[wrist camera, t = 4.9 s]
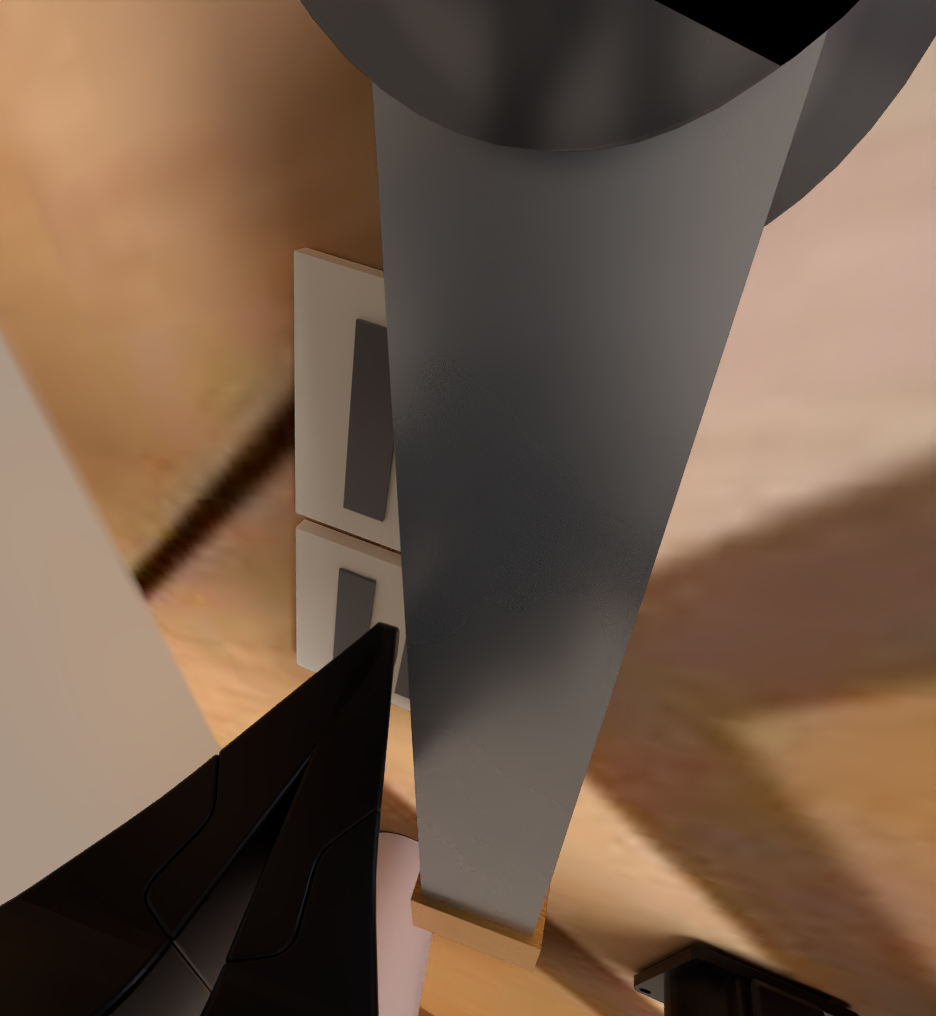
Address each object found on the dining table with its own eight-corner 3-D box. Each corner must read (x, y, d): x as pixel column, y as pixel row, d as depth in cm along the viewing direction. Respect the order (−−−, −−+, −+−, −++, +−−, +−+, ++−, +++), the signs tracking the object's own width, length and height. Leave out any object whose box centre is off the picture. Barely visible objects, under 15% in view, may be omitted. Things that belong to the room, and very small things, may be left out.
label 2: (473, 723, 16) (468, 738, 16) (303, 655, 17) (294, 667, 16) (524, 600, 12) (519, 614, 12) (304, 518, 13) (293, 529, 13)
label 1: (529, 587, 12) (525, 601, 12) (304, 504, 13) (293, 514, 12) (628, 346, 8) (627, 356, 8) (306, 247, 9) (290, 251, 9)
